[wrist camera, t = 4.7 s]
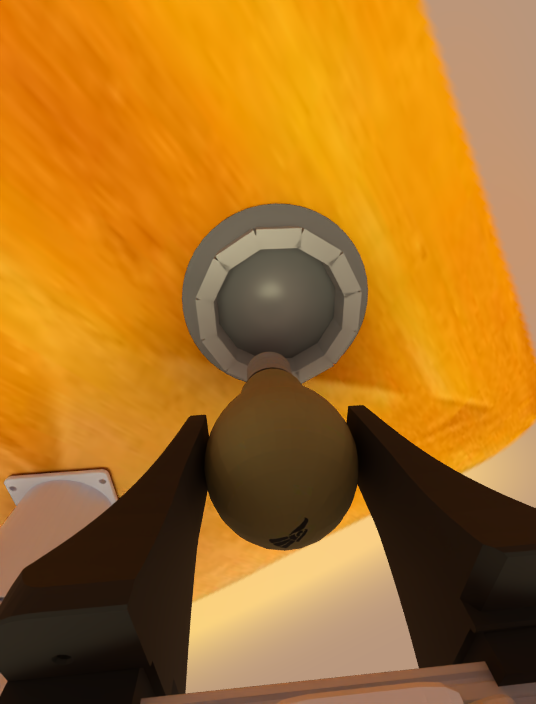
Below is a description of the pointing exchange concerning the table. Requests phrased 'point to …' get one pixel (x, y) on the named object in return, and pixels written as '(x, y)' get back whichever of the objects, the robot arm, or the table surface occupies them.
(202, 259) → the bulb holder
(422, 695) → the robot arm
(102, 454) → the table surface
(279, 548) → the light bulb
